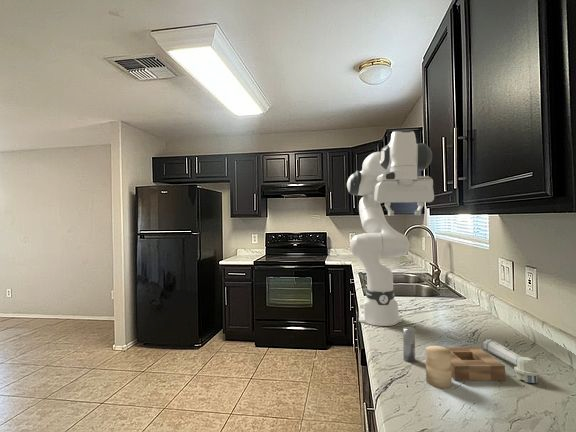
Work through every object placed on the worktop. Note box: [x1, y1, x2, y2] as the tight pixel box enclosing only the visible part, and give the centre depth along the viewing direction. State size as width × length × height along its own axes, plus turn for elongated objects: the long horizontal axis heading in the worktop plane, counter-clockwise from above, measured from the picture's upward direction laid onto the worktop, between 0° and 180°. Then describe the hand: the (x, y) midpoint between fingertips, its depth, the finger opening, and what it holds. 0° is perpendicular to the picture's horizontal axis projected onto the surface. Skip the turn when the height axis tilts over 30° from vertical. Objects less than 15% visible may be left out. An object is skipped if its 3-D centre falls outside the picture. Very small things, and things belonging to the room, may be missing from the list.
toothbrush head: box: [481, 338, 539, 384], centre depth 105 cm, size 5×7×25 cm
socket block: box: [444, 346, 506, 381], centre depth 103 cm, size 14×14×4 cm
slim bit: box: [402, 326, 416, 363], centre depth 110 cm, size 4×4×10 cm
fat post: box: [425, 345, 452, 389], centre depth 95 cm, size 6×6×9 cm
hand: (404, 215), depth 118 cm, fingers open, 8 cm apart
